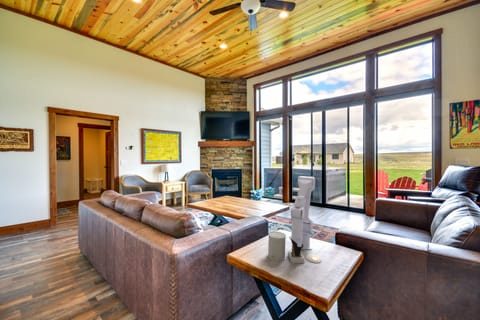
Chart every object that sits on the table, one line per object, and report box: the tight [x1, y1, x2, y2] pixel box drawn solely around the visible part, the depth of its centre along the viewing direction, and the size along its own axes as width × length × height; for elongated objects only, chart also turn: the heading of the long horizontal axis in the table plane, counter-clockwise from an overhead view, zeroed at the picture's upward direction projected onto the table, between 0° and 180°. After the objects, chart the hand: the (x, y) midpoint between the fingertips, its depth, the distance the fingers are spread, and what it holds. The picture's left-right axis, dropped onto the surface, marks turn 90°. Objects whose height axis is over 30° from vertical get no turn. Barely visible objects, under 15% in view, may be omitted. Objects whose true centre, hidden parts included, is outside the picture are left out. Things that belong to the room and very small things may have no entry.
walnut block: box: [291, 244, 302, 257], centre depth 115 cm, size 4×4×7 cm
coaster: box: [305, 254, 323, 264], centre depth 116 cm, size 8×8×1 cm
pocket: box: [287, 250, 305, 264], centre depth 115 cm, size 7×7×2 cm
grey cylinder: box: [267, 231, 287, 262], centre depth 118 cm, size 10×10×12 cm
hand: (296, 253), depth 115 cm, fingers closed on walnut block, 4 cm apart
